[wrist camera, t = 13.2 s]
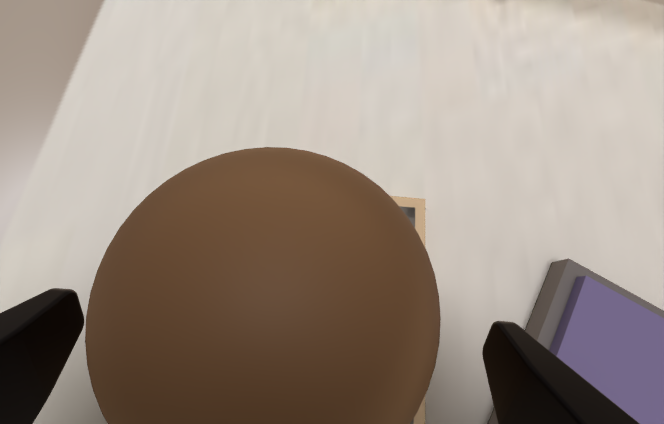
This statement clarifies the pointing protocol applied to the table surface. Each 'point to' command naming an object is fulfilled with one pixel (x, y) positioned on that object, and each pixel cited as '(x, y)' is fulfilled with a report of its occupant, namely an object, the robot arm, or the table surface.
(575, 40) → the table surface
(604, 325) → the ink pad
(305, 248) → the stamp
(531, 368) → the robot arm
